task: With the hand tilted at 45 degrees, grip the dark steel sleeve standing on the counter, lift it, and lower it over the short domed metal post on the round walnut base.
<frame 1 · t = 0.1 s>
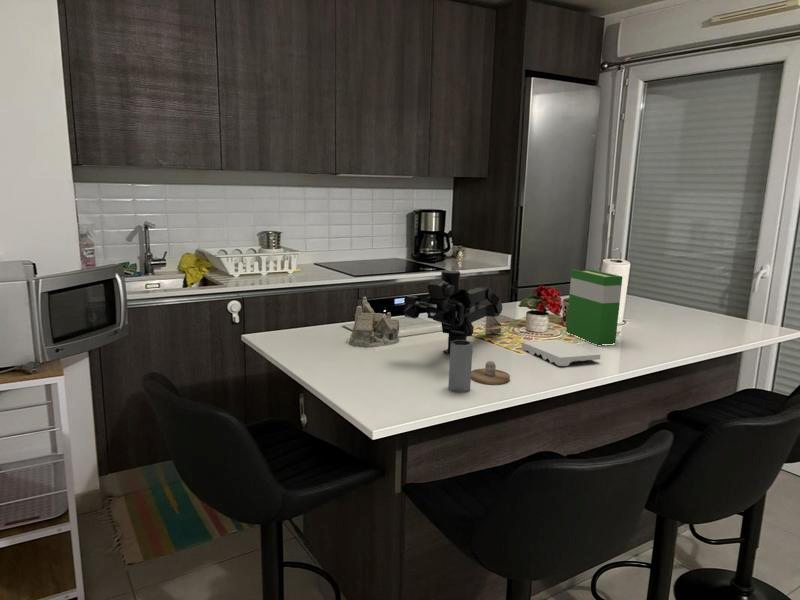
hand: (418, 315, 164), 17 cm above the countertop, fingers open, 9 cm apart
hardback book: (589, 339, 211), on the countertop
post stand: (489, 378, 165), on the countertop
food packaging: (559, 358, 188), on the countertop
steel sleeve: (459, 388, 155), on the countertop
architectural model: (492, 336, 213), on the countertop
ceramic cottage: (373, 342, 198), on the countertop
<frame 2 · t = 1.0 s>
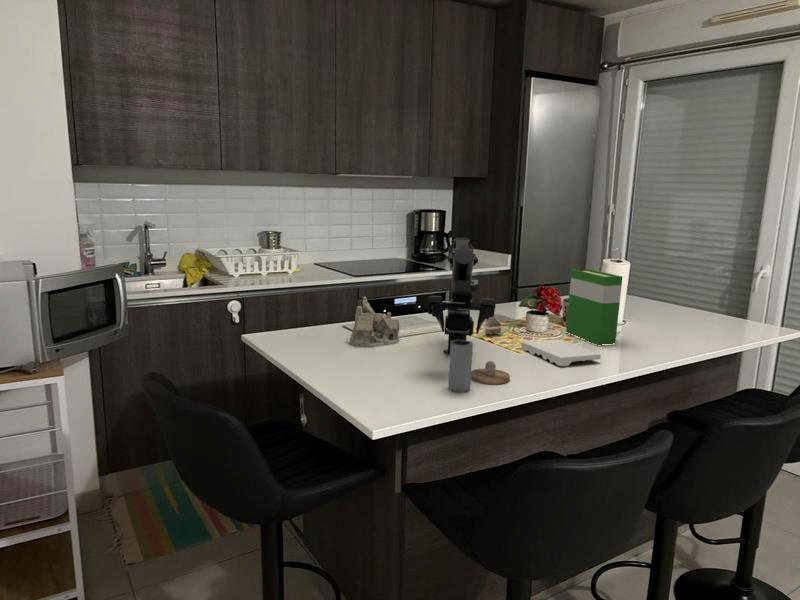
hand: (460, 332, 161), 13 cm above the countertop, fingers open, 9 cm apart
nothing on the countertop moved.
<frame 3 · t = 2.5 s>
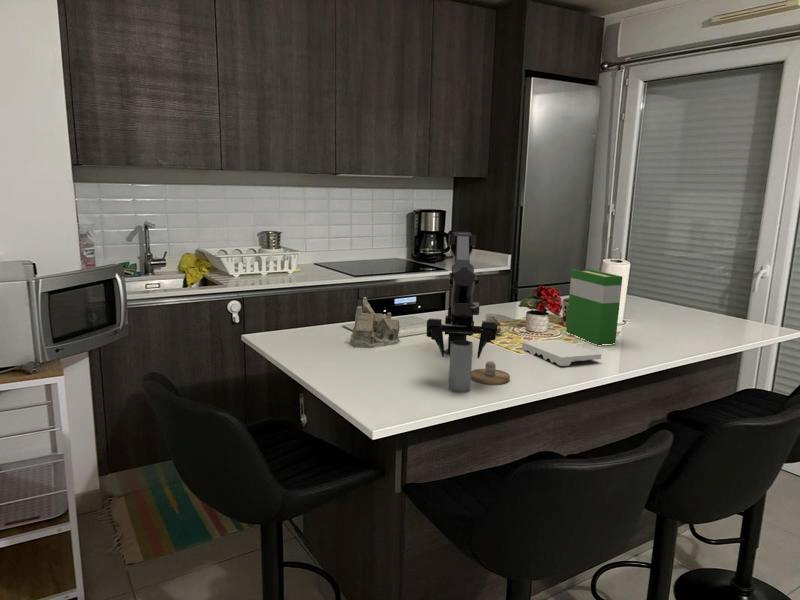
hand: (460, 357, 154), 8 cm above the countertop, fingers open, 9 cm apart
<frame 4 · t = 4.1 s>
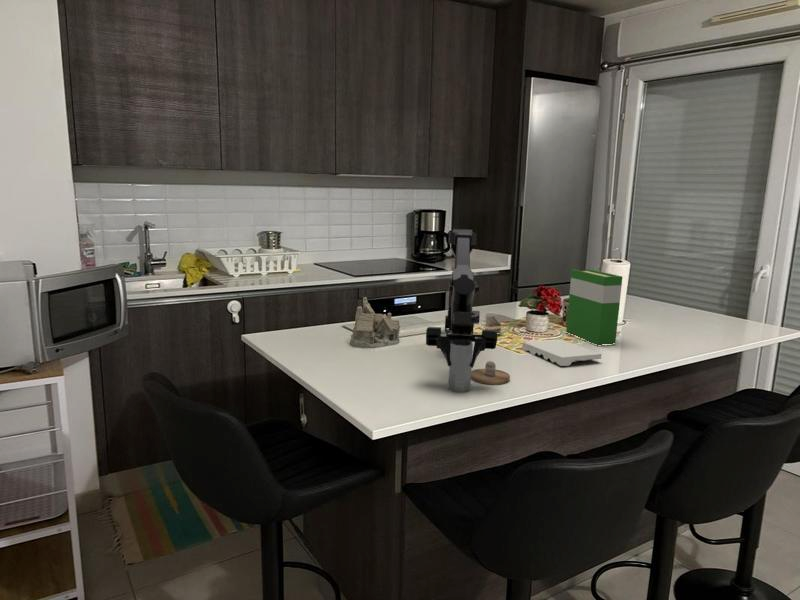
hand: (460, 366, 153), 7 cm above the countertop, fingers closed on steel sleeve, 6 cm apart
steel sleeve: (459, 388, 155), on the countertop, touching gripper
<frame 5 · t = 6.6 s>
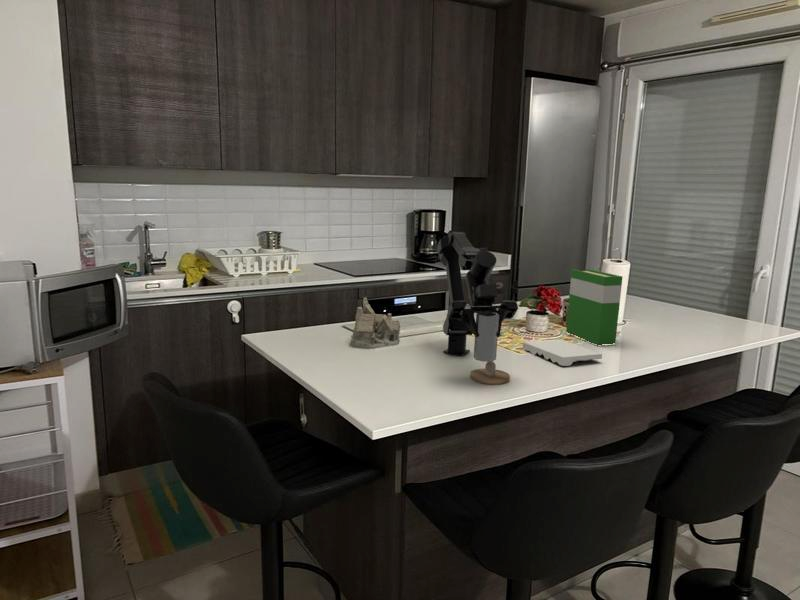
hand: (487, 336, 158), 13 cm above the countertop, fingers closed on steel sleeve, 6 cm apart
steel sleeve: (484, 358, 161), point 6 cm above the countertop, touching gripper
when the fingers open (8 cm above the countertop, at t = 8.9 s): steel sleeve stays where it is, resting on post stand.
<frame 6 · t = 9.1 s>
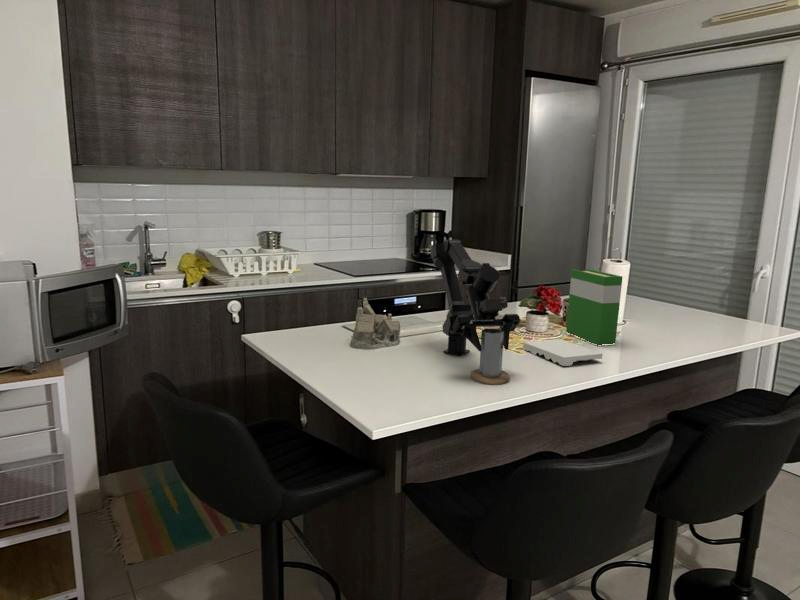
hand: (493, 349, 162), 9 cm above the countertop, fingers open, 8 cm apart
steel sleeve: (490, 374, 164), point 1 cm above the countertop, touching post stand
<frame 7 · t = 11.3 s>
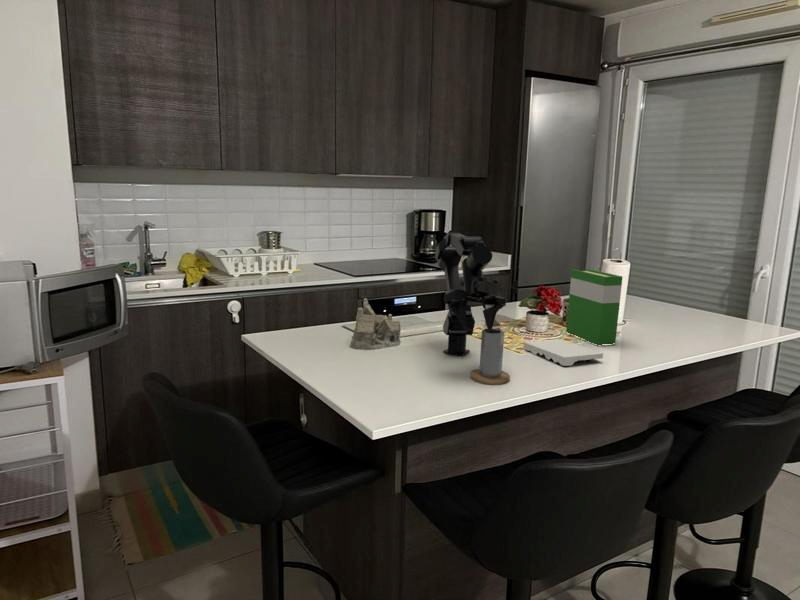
hand: (477, 329, 166), 13 cm above the countertop, fingers open, 9 cm apart
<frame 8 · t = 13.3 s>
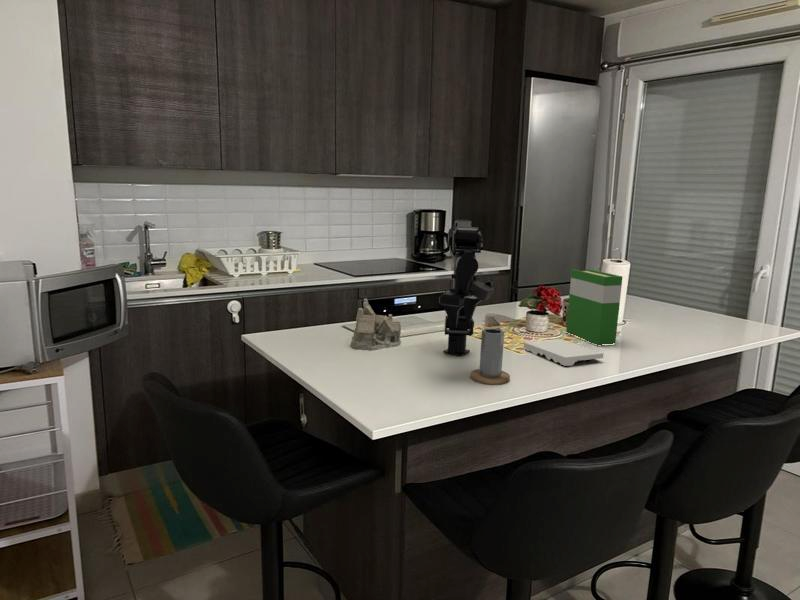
hand: (461, 324, 170), 13 cm above the countertop, fingers open, 9 cm apart
at the end: steel sleeve 0.1 cm from the post stand (horizontally); steel sleeve point 1.0 cm above the countertop; steel sleeve tilted 0° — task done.
